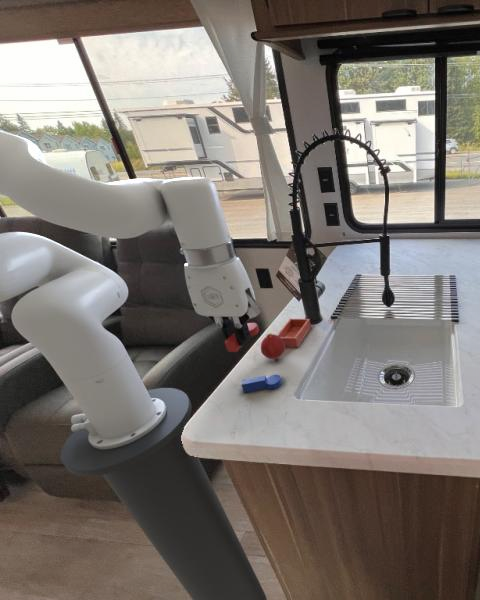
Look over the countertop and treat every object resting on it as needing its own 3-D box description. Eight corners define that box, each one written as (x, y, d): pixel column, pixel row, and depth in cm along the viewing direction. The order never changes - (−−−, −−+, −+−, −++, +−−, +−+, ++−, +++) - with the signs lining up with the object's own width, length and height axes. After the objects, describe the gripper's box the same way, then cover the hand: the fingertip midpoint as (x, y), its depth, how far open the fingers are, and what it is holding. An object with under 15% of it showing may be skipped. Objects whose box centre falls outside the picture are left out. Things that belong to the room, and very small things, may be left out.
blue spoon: (243, 395, 70) (240, 387, 69) (245, 385, 73) (243, 377, 72) (281, 387, 72) (279, 379, 71) (282, 378, 75) (280, 370, 74)
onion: (264, 354, 84) (257, 329, 80) (287, 350, 85) (281, 325, 82) (263, 367, 79) (256, 341, 75) (287, 362, 80) (281, 336, 77)
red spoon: (240, 352, 60) (236, 342, 59) (224, 351, 60) (220, 341, 59) (262, 328, 67) (259, 319, 66) (247, 328, 68) (244, 318, 66)
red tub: (297, 347, 86) (295, 338, 85) (276, 346, 87) (274, 337, 85) (311, 327, 96) (309, 318, 94) (291, 326, 96) (290, 318, 95)
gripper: (152, 260, 52) (190, 351, 60) (239, 261, 50) (266, 354, 58) (185, 247, 58) (215, 330, 67) (263, 247, 56) (284, 332, 65)
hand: (239, 341), depth 62 cm, fingers closed on red spoon, 1 cm apart
